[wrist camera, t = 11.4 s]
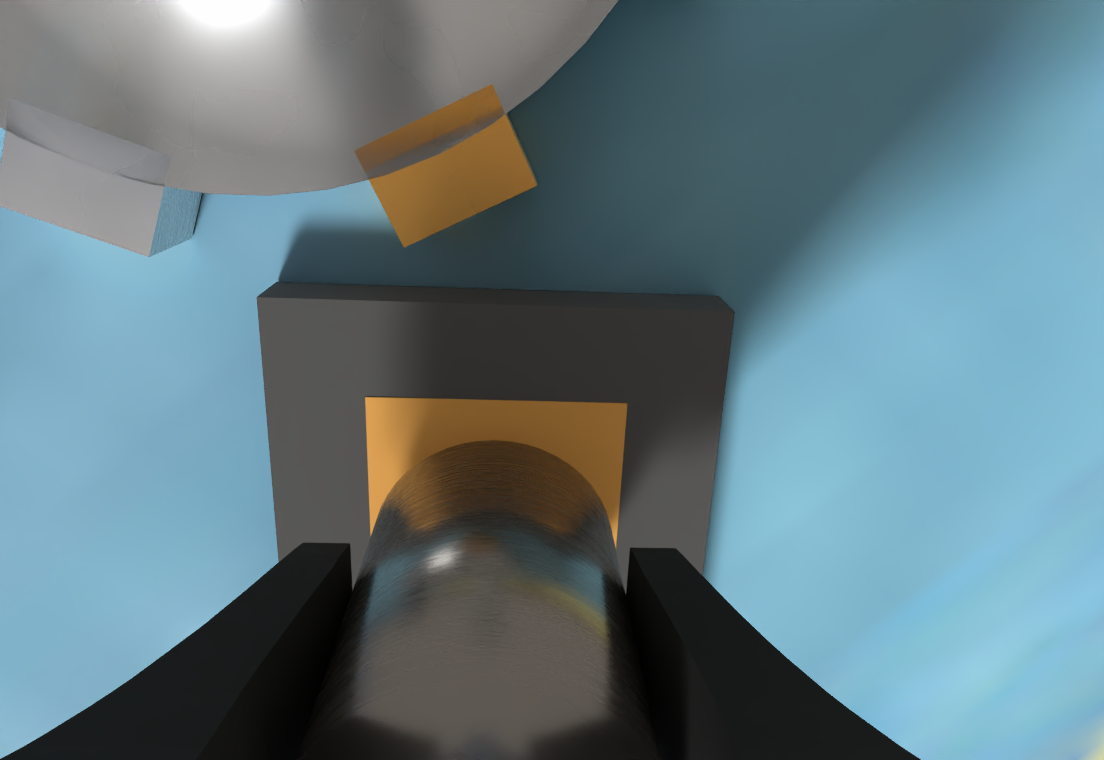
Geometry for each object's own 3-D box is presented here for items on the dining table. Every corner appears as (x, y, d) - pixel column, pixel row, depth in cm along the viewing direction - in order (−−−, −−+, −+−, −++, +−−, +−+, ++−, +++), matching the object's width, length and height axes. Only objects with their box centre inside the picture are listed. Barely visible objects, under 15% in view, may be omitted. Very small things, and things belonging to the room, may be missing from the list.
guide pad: (303, 653, 15) (289, 691, 14) (276, 282, 12) (255, 297, 12) (677, 655, 15) (688, 693, 14) (718, 296, 13) (734, 312, 12)
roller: (377, 648, 13) (292, 980, 8) (367, 437, 11) (261, 680, 7) (605, 650, 13) (656, 975, 8) (620, 442, 12) (691, 681, 7)
